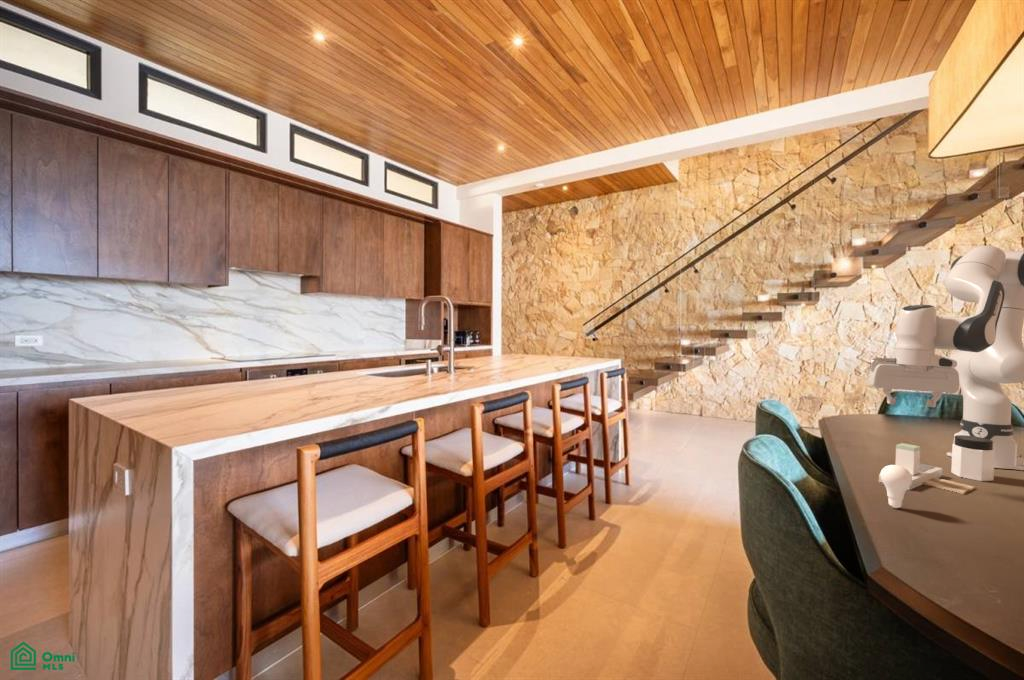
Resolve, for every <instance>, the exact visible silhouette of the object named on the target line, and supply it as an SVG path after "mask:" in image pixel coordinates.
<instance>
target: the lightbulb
mask: <svg viewBox="0 0 1024 680" xmlns="http://www.w3.org/2000/svg"><path fill="white" fill-rule="evenodd" d="M879 474H880V477H881V480H882V482H883V483H882V484H883V485H884V487H885V489H886V496H887V500H888V501H887V502H888V505H889V506H890V507H892V509H893V508H894V509H898V508H901V507H902V505H903V500H904V497H905V493H906V491H908V490H907V489H908V488H909V487H910V485H911V484H912V476H911V474H910V472H909V471H908V470H907V469H905V468H904V467H902V466H898V465H895V464H889V465H886V466H884V467H883V468H882V469H881V471H880V473H879Z"/></svg>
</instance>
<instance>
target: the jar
mask: <svg viewBox="0 0 1024 680" xmlns="http://www.w3.org/2000/svg"><path fill="white" fill-rule="evenodd" d="M953 443H954V444H953ZM953 443H952V448H951V452H952V457H951V467H950V468H951V470H950V472H951V473H952V474H953V475H955V476H957V477H959V478H961V477H963V479H966V478H967V480H972V481H978V482H991V481H992V482H993V481H994V478H995V477H994V476H995V468H994V457H995V450H993V441H992V440H989V439H986V438H981V437H974V436H965V435H957V436H955V440H954V439H953Z"/></svg>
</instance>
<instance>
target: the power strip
mask: <svg viewBox="0 0 1024 680" xmlns="http://www.w3.org/2000/svg"><path fill="white" fill-rule="evenodd" d="M911 476H912V484H911V485H910V487H909V488H908V489H907V490H906V491H910V490H913V489H915V488H917V487H920V486H922V485H923V482H925V481H927V480H930V479H932V478H935V477H936V478H942V477H943V468H942V467H937V466H933V465H928V464H924V463H920V465H919V473H918V474H915V475H911ZM880 482H882V480H881V477H880V473H878V483H880ZM881 484H884V483H883V482H882V483H881Z"/></svg>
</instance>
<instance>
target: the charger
mask: <svg viewBox="0 0 1024 680" xmlns="http://www.w3.org/2000/svg"><path fill="white" fill-rule="evenodd" d="M920 458H921V446H920V445H915V444H909V443H904V442H901V443H898V444H895V464H894V465H898V466H902V467H904V468H905V469H907V470H908V471H909V472H910V474H911V475H915V474H918V473H919V465H920V464H921V462H920V460H921V459H920Z"/></svg>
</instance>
